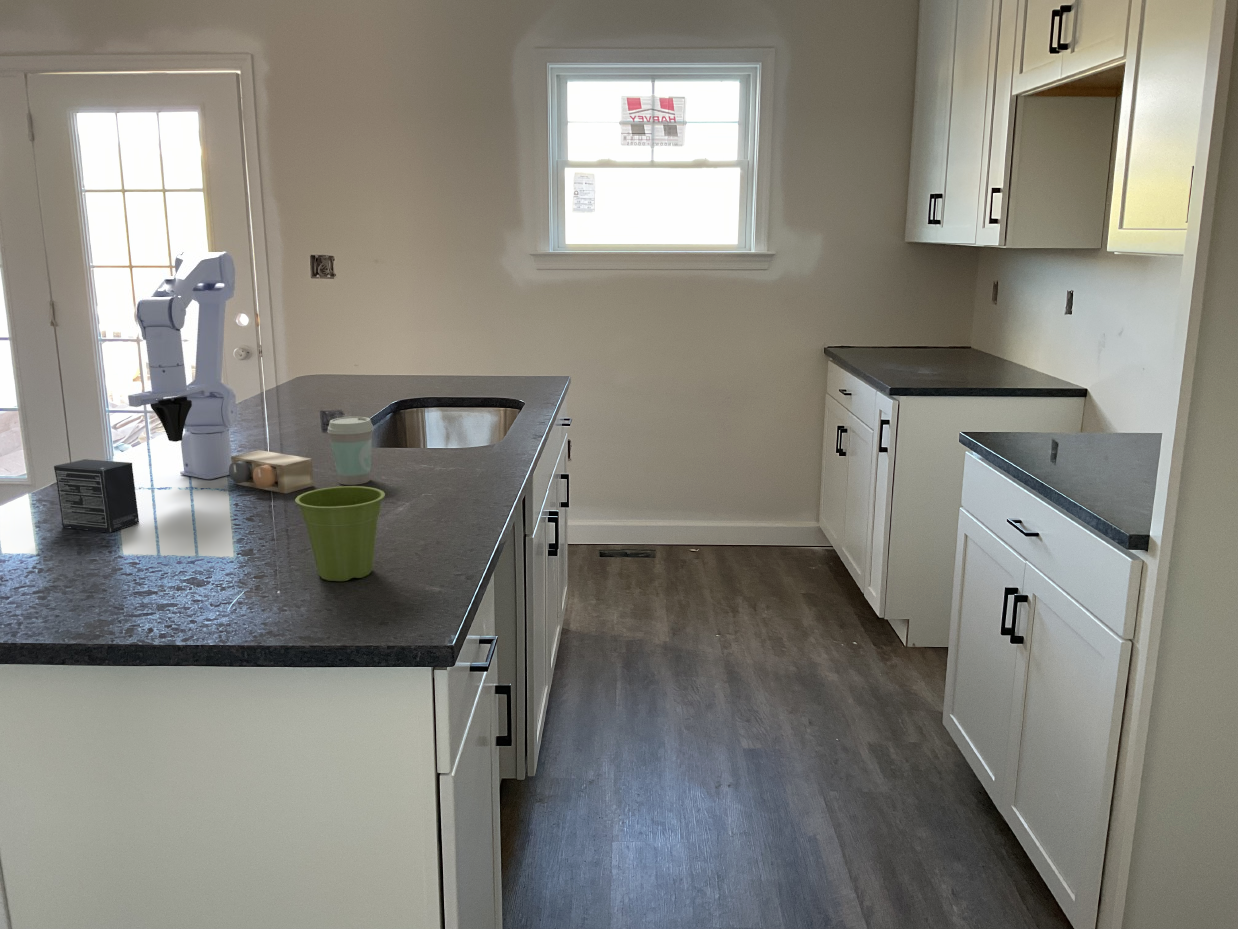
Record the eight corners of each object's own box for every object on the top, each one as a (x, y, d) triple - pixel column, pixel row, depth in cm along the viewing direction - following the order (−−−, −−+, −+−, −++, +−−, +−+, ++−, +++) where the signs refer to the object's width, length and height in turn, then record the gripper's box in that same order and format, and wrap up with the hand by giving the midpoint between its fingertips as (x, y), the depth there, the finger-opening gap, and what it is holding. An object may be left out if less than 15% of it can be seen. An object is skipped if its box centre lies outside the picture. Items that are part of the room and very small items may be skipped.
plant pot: (389, 584, 131) (384, 504, 128) (297, 591, 128) (290, 510, 126) (390, 557, 142) (385, 482, 140) (306, 563, 140) (299, 487, 137)
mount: (233, 483, 186) (230, 456, 185) (261, 476, 191) (259, 450, 190) (285, 493, 178) (283, 465, 177) (313, 485, 183) (311, 458, 182)
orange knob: (267, 489, 177) (265, 468, 176) (253, 486, 179) (251, 465, 178) (298, 481, 183) (296, 460, 182) (284, 479, 185) (282, 458, 184)
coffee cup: (365, 487, 182) (360, 424, 179) (323, 485, 184) (318, 423, 181) (384, 476, 190) (380, 416, 187) (344, 475, 192) (340, 415, 189)
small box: (142, 522, 161) (134, 461, 158) (110, 534, 155) (102, 470, 152) (93, 517, 164) (85, 457, 162) (60, 528, 158) (51, 465, 156)
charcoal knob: (243, 484, 181) (241, 464, 180) (229, 482, 183) (227, 461, 182) (273, 477, 186) (271, 456, 185) (260, 474, 188) (258, 454, 188)
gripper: (141, 371, 163) (151, 450, 166) (216, 362, 175) (224, 435, 178) (117, 369, 167) (127, 446, 170) (192, 359, 179) (200, 431, 182)
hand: (175, 440), depth 174 cm, fingers closed
